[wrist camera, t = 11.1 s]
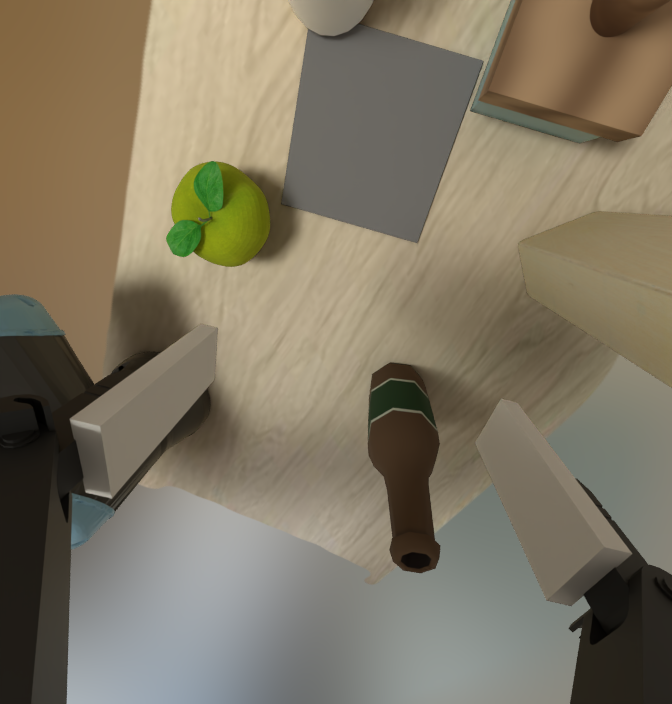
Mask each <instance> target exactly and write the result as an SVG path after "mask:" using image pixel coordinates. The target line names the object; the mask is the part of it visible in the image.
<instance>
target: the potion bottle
mask: <svg viewBox="0 0 672 704" xmlns="http://www.w3.org/2000/svg"><path fill="white" fill-rule="evenodd" d="M288 1H289V3H290V5H291V7H292V10H293V12H294V14H295V15H296V16H297V17H298V18H299V20H300V21H301V22H302V23H303V24H304V25H305V26H306V27H307V28H308V29H310V30H312V31H314V32H316V33H317V34H319V35H327V36H336V35H339V34H342V33H345V32H348V31H349V30H351V29H352V28H353V27H354V26H355V25H357V24H358V23H359V22H360V21H361V20H362V19H363V17H364V16H365V14H366V13H367V11H368V10H369V8H370V7H371V5H372V3H373V0H288Z"/></svg>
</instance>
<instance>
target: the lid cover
mask: <svg viewBox="0 0 672 704" xmlns="http://www.w3.org/2000/svg"><path fill="white" fill-rule="evenodd" d="M671 86H672V0H515V3H514V6H513V8H512V11H511V14H510V16H509V19H508V22H507V24H506V27H505V30H504V32H503V35H502V38H501V40H500V43H499V46H498V48H497V51H496V54H495V56H494V59H493V62H492V65H491V67H490V70H489V73H488V75H487V78H486V81H485V83H484V86H483V89H482V91H481V94H480V97H479V99H478V101H481V102H484V103H488V104H491V105H495V106H498V107H501V108H505V109H508V110H511V111H515V112H518V113H522V114H525V115H528V116H532V117H535V118H539V119H542V120H545V121H549V122H552V123H555V124H559V125H562V126H566V127H569V128H572V129H576V130H579V131H583V132H586V133H589V134H593V135H596V136H599V137H603V138H606V139H610V140H613V141H616V142H619V141H623V140H627V139H631V138H635V137H639V136H642V134H643V133H644V131H645V129H646V128H647V126H648V124H649V123H650V121H651V119H652V118H653V116H654V114H655V113H656V111H657V109H658V108H659V106H660V104H661V103H662V101H663V99H664V98H665V96H666V94H667V93H668V91H669V89H670V88H671Z"/></svg>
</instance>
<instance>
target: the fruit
mask: <svg viewBox="0 0 672 704" xmlns="http://www.w3.org/2000/svg"><path fill="white" fill-rule="evenodd" d="M171 212H172V218H173V221H174V224H175V225H174V226H173V227H172V229H171V230H170V231H169V233H168V235H167V237H166V240H167V243H168V245H169V247H170V249H171V251H172V253H173V254H175V255H177V256H180V257H186V256H188V255H189V254H191V253H192V252H194V253H196V254H197V255H198V256H200V257H201V258H203V259H205V260H207V261H209V262H212V263H214V264H218V265H221V266H227V267H234V266H240V265H242V264H245V263H246V262H248V261H249V260H251V259H252V258H253V257H254V256H255V255H256V254H257V253H258V252H259V251H260V249H261V248H262V247H263V245H264V244H265V242H266V240H267V238H268V235H269V232H270V215H269V208H268V203H267V200H266V198H265V195H264V194H263V192H262V191H261V189H260V188H259V187H258V186H257V185H256V184H255V183H254V182H253V181H252V180H251V179H250V178H249V177H248V176H246V175H245V174H244V173H243V172H241V171H240V170H239V169H237V168H235V167H234V166H231V165H229V164H226V163H223V162H214V161H211V162H206V163H202V164H199V165H197V166H195V167H193V168H192V169H190V170H189V171H188V172H187V174H186V175H185V176H184V177H183V179H182V180H181V182H180V184H179V185H178V187H177V189H176V191H175V193H174V196H173V200H172V206H171Z"/></svg>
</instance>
